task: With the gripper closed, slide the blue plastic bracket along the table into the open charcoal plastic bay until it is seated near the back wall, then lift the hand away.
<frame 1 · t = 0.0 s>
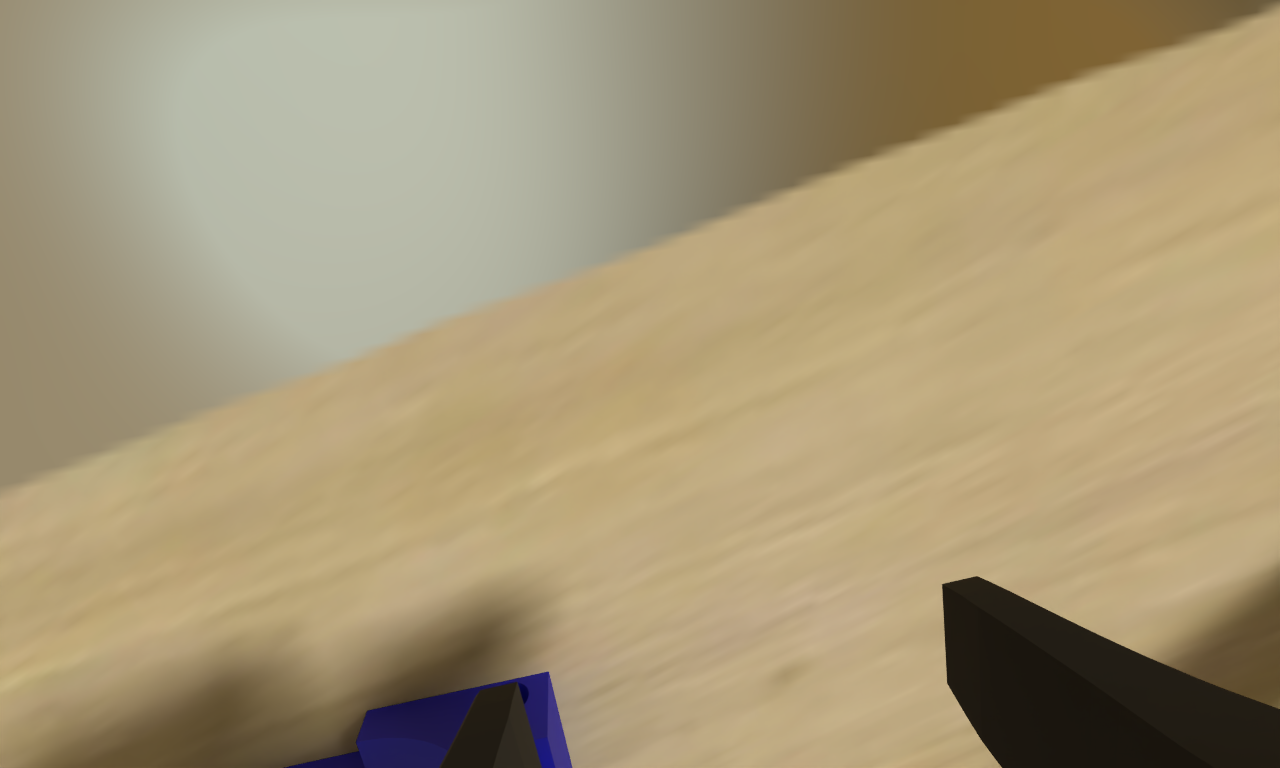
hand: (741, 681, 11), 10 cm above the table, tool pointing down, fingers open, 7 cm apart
blue plastic bracket: (388, 754, 23), on the table
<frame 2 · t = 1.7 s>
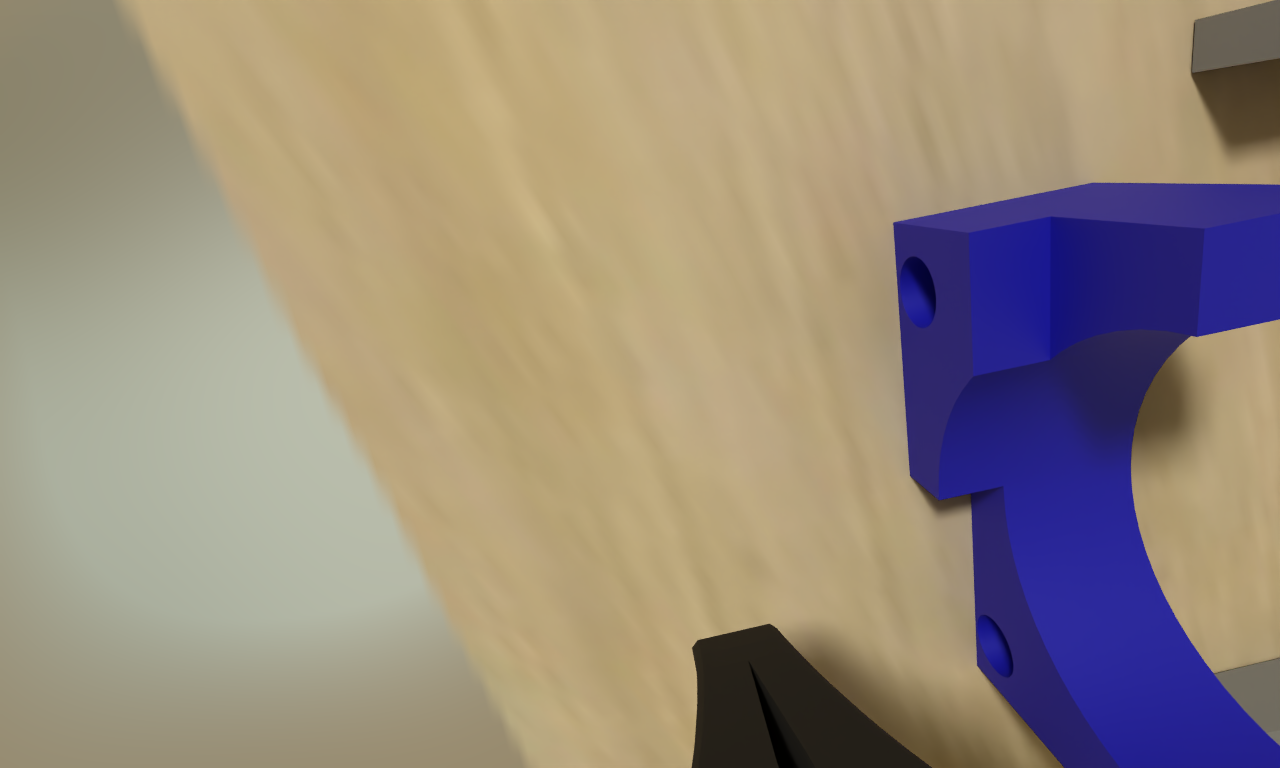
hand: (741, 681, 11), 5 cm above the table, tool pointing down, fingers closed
blue plastic bracket: (990, 449, 17), on the table
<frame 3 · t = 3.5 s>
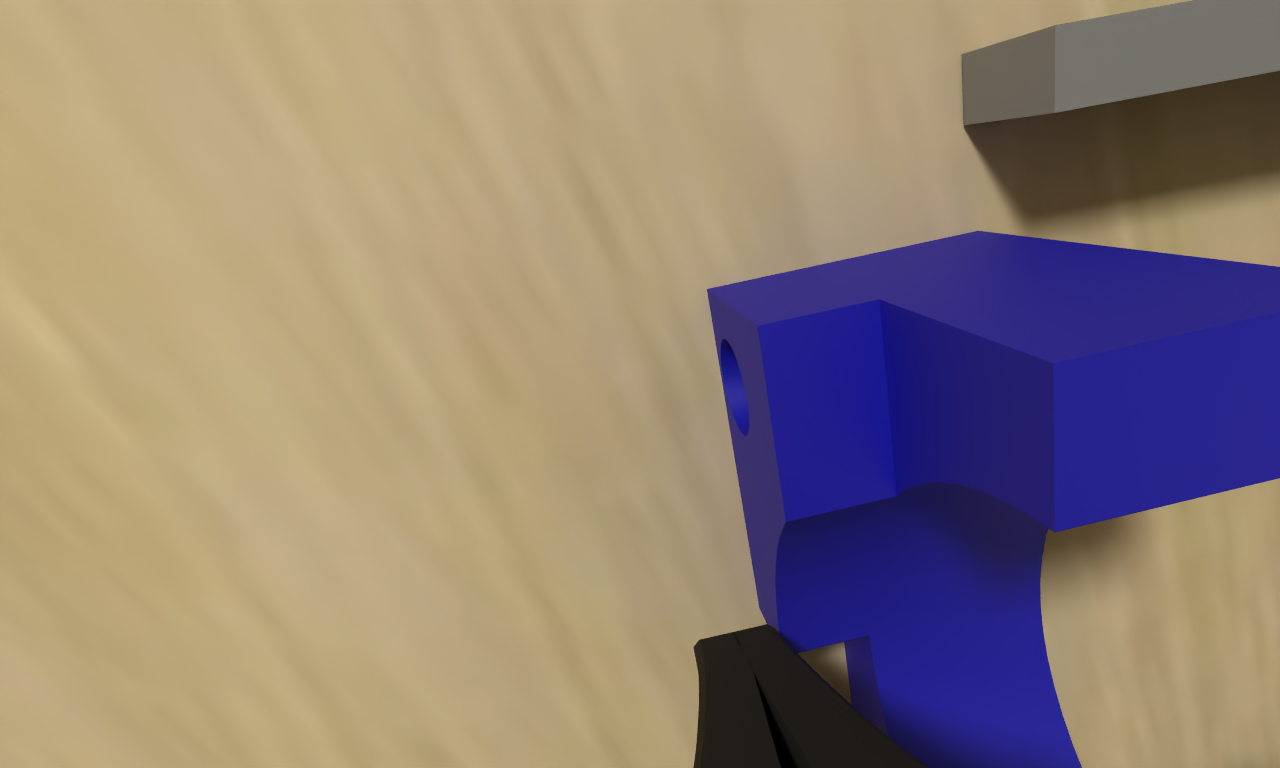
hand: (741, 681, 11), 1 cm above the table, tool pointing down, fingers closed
blue plastic bracket: (868, 569, 13), on the table
bay: (1176, 527, 13), on the table
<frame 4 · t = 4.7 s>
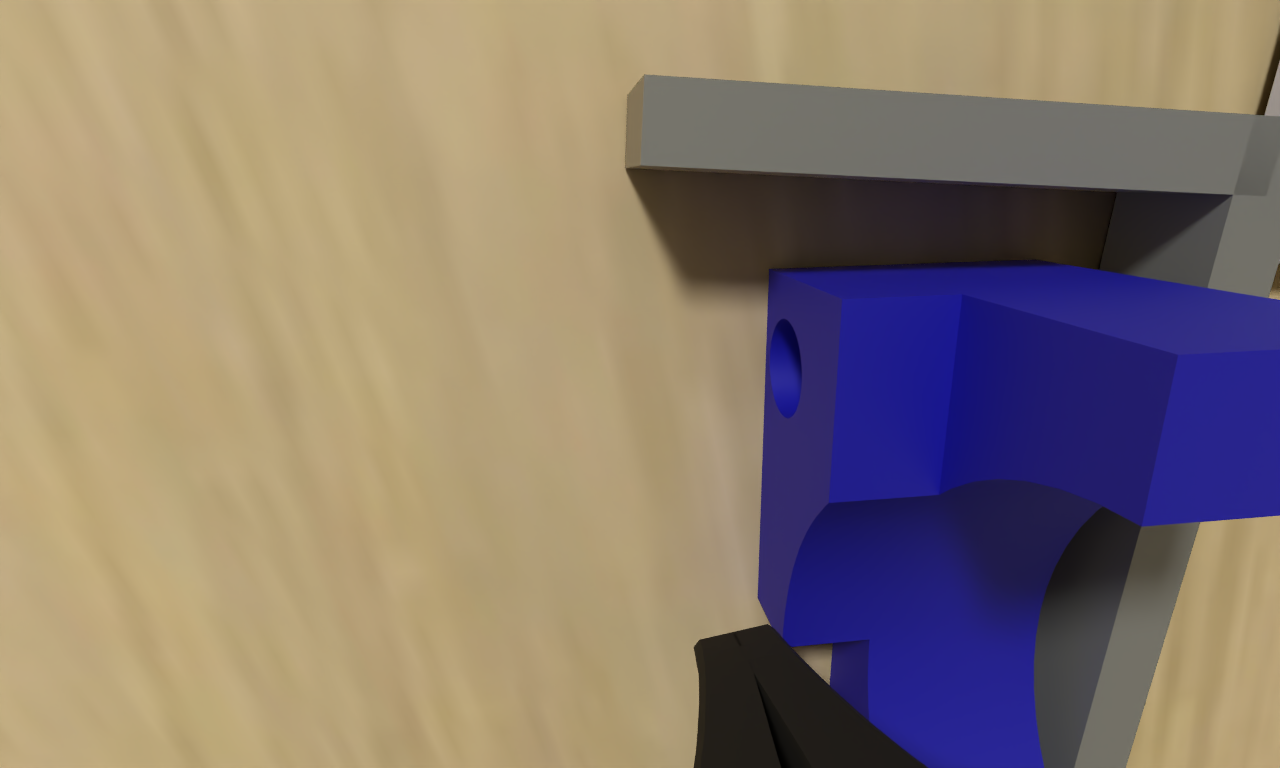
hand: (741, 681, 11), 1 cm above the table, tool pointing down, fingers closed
blue plastic bracket: (868, 579, 13), on the table, touching gripper
bay: (821, 625, 13), on the table
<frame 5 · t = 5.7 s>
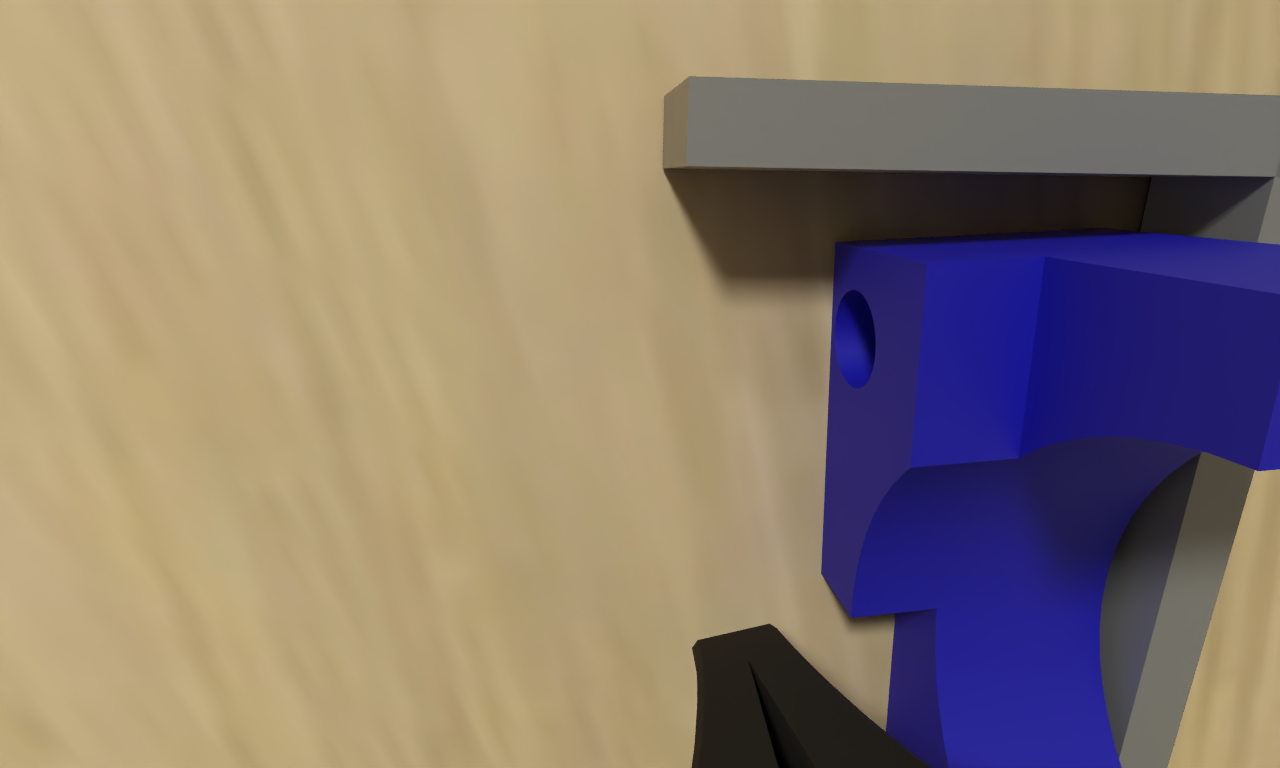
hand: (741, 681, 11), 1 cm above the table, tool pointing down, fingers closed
blue plastic bracket: (927, 551, 13), on the table
bay: (862, 616, 13), on the table
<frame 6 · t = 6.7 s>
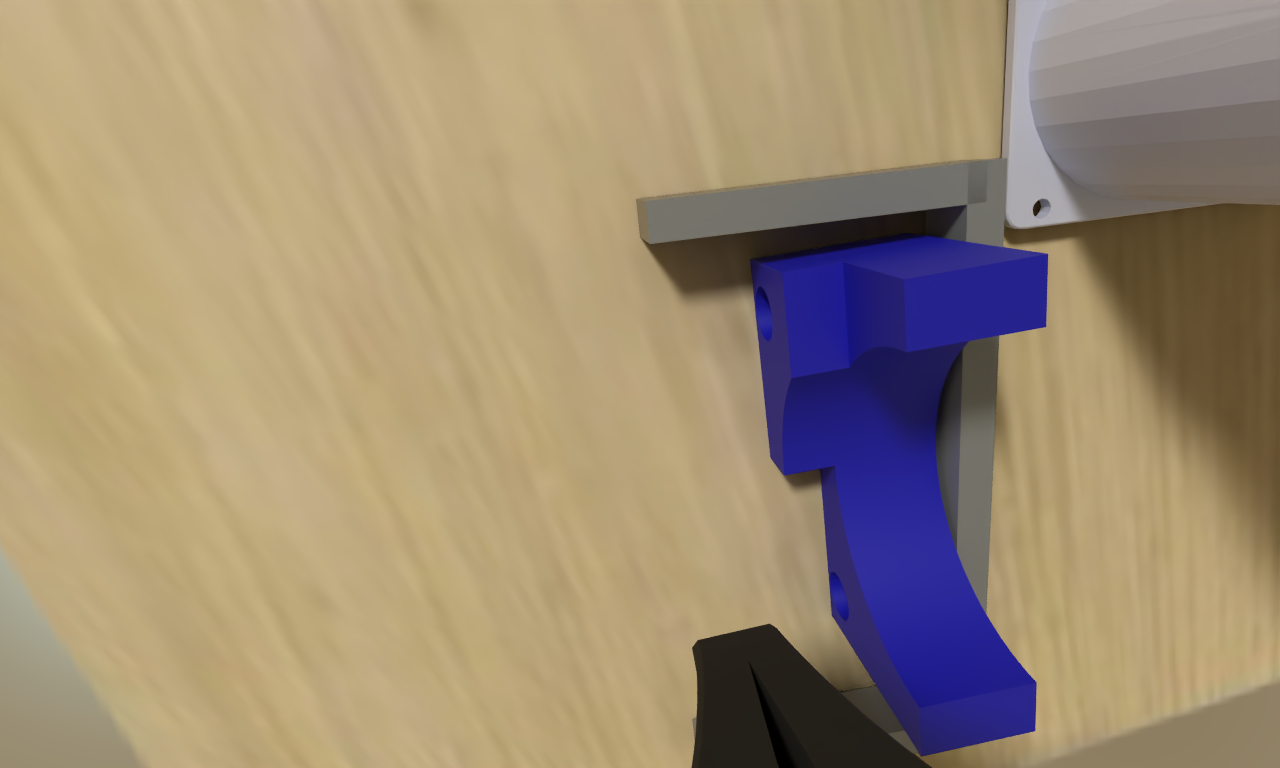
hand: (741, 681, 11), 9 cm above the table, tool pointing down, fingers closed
blue plastic bracket: (837, 439, 21), on the table
bay: (797, 485, 21), on the table
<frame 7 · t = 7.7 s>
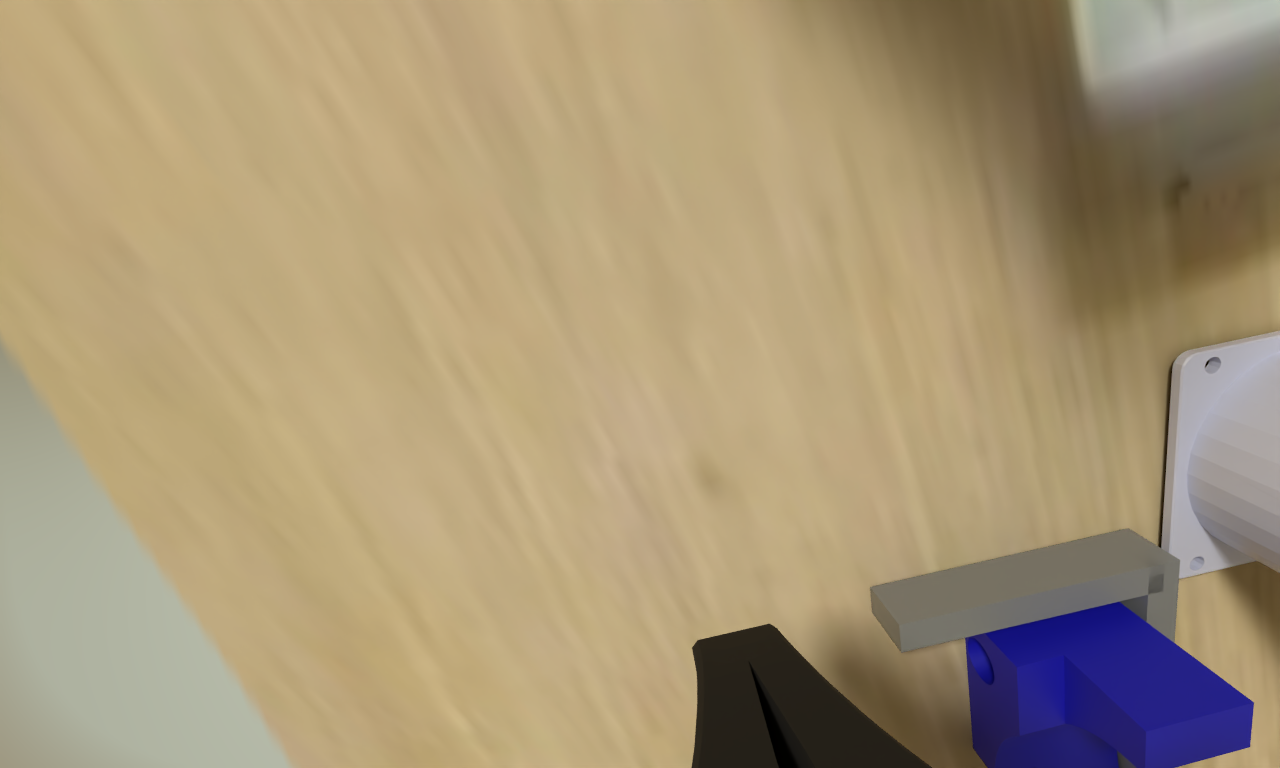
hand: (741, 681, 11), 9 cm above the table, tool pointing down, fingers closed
blue plastic bracket: (1024, 724, 25), on the table
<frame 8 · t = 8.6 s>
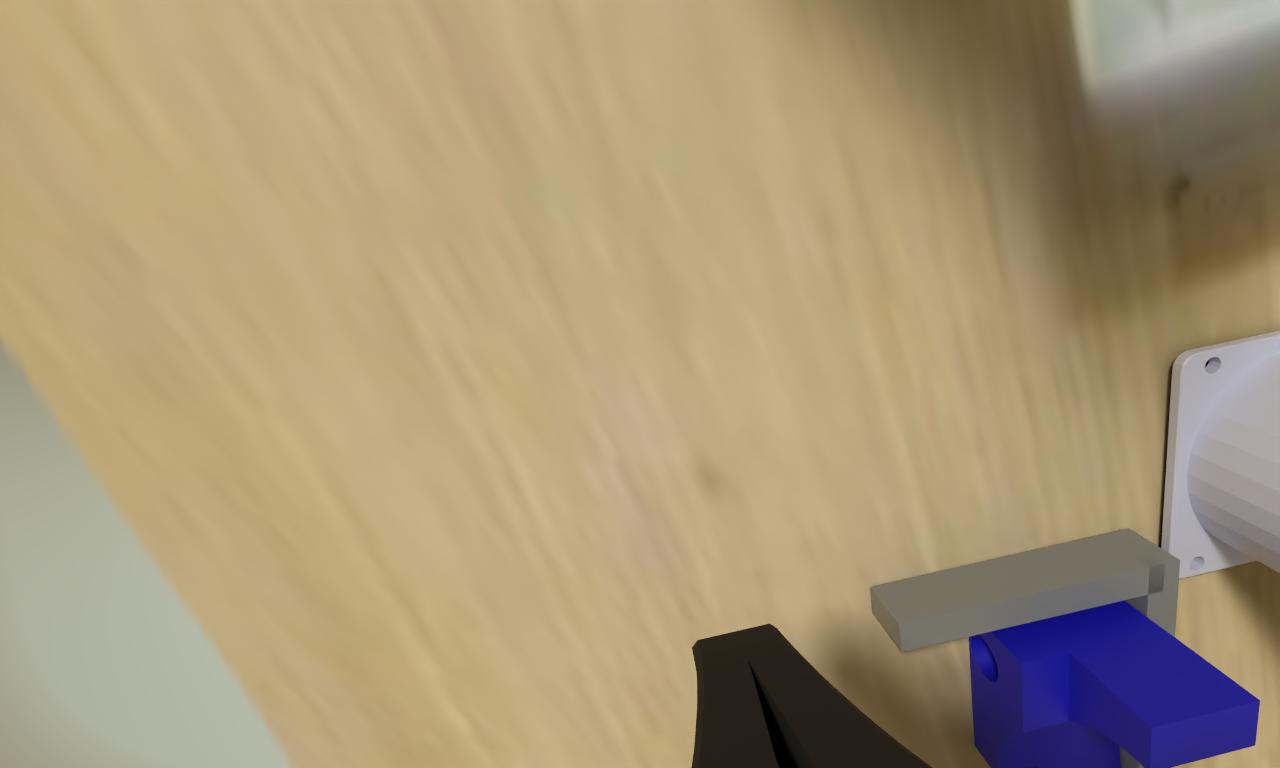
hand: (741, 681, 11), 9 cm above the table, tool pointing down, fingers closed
blue plastic bracket: (1026, 722, 25), on the table
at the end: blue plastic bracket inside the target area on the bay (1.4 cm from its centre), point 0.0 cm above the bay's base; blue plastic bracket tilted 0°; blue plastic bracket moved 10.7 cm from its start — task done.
